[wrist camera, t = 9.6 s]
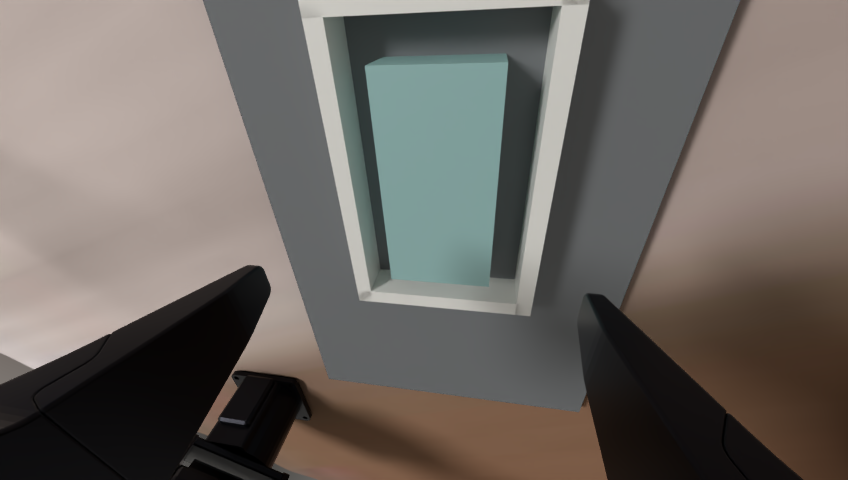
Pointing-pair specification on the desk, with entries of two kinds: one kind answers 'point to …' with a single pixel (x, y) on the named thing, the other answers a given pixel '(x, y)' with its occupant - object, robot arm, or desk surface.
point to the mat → (573, 194)
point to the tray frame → (334, 85)
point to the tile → (438, 161)
